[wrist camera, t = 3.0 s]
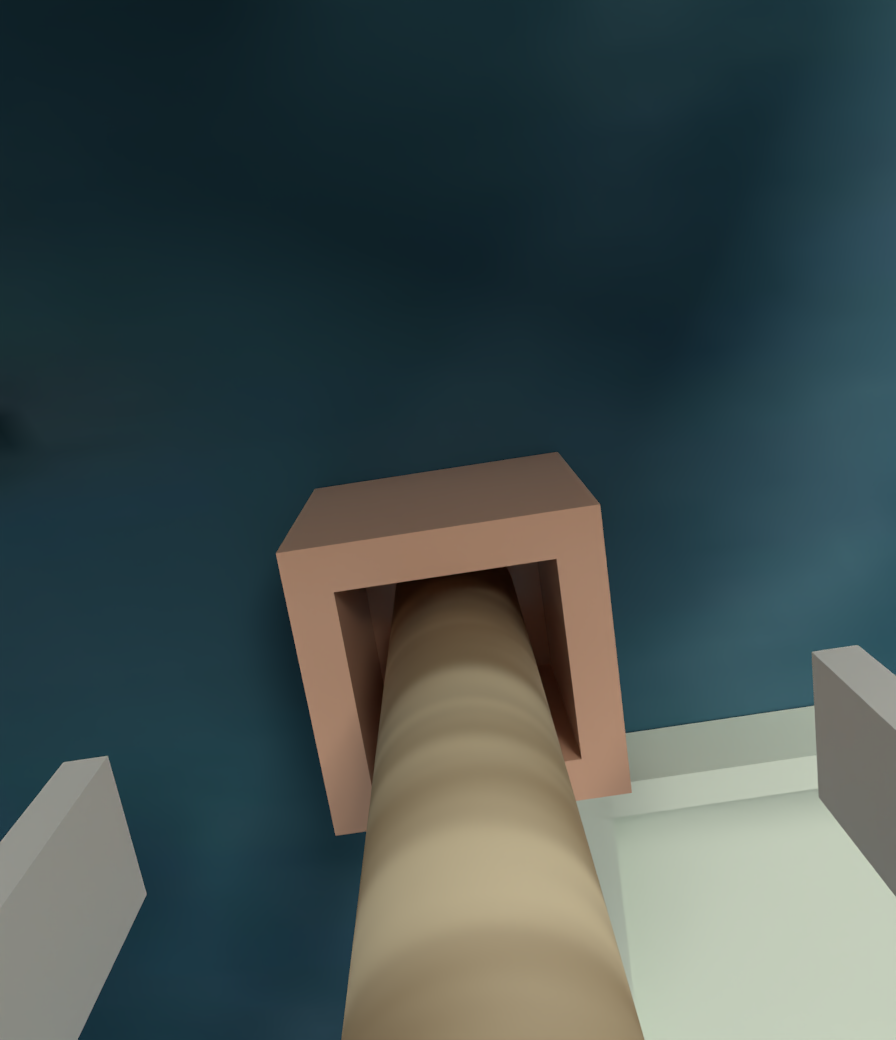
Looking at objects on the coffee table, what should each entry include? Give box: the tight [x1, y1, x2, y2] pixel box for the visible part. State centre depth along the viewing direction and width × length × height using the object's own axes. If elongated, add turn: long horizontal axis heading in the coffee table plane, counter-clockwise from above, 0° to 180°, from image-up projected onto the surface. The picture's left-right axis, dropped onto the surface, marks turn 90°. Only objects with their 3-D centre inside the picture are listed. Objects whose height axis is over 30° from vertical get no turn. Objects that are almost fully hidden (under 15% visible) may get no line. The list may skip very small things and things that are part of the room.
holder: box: [276, 452, 632, 836], centre depth 21 cm, size 7×7×6 cm
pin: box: [341, 566, 644, 1040], centre depth 15 cm, size 3×3×16 cm
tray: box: [576, 706, 896, 1040], centre depth 26 cm, size 15×13×2 cm
